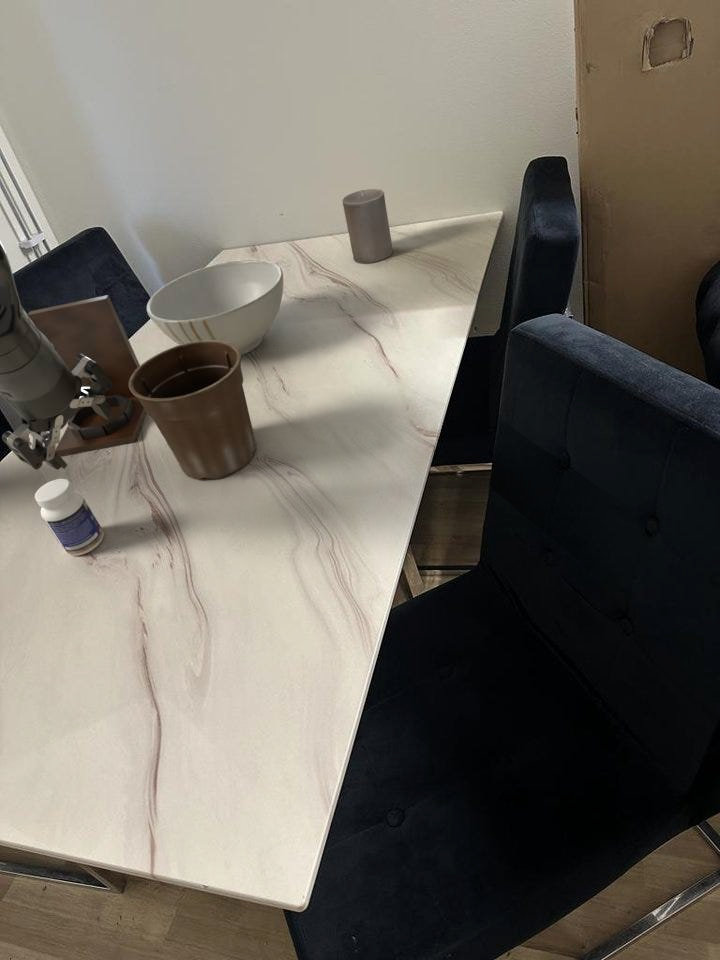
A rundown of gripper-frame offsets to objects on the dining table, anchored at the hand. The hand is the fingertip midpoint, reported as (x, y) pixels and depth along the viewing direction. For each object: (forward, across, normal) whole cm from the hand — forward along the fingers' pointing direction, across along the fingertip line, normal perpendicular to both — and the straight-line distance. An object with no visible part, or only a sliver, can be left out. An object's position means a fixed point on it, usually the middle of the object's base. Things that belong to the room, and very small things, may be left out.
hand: (82, 439), depth 87 cm
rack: (+27, -10, -16) cm, 33 cm away
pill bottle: (+12, +10, +3) cm, 16 cm away
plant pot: (+16, -12, +10) cm, 22 cm away
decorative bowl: (+34, -39, -12) cm, 54 cm away
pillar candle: (+45, -83, -4) cm, 94 cm away
